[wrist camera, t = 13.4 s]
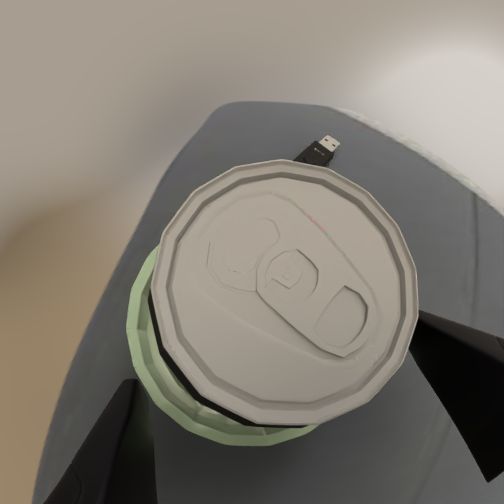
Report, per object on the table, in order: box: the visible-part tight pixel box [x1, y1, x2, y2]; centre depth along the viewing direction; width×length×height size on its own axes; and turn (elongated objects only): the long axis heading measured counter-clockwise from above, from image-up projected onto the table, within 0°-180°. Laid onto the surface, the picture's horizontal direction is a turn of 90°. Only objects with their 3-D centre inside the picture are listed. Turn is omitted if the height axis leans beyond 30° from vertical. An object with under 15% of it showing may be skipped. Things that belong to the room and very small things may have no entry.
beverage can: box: [147, 159, 419, 428], centre depth 11 cm, size 7×7×12 cm
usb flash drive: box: [293, 135, 340, 167], centre depth 22 cm, size 8×2×1 cm, turn 139°
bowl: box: [126, 244, 320, 446], centre depth 15 cm, size 12×12×4 cm
